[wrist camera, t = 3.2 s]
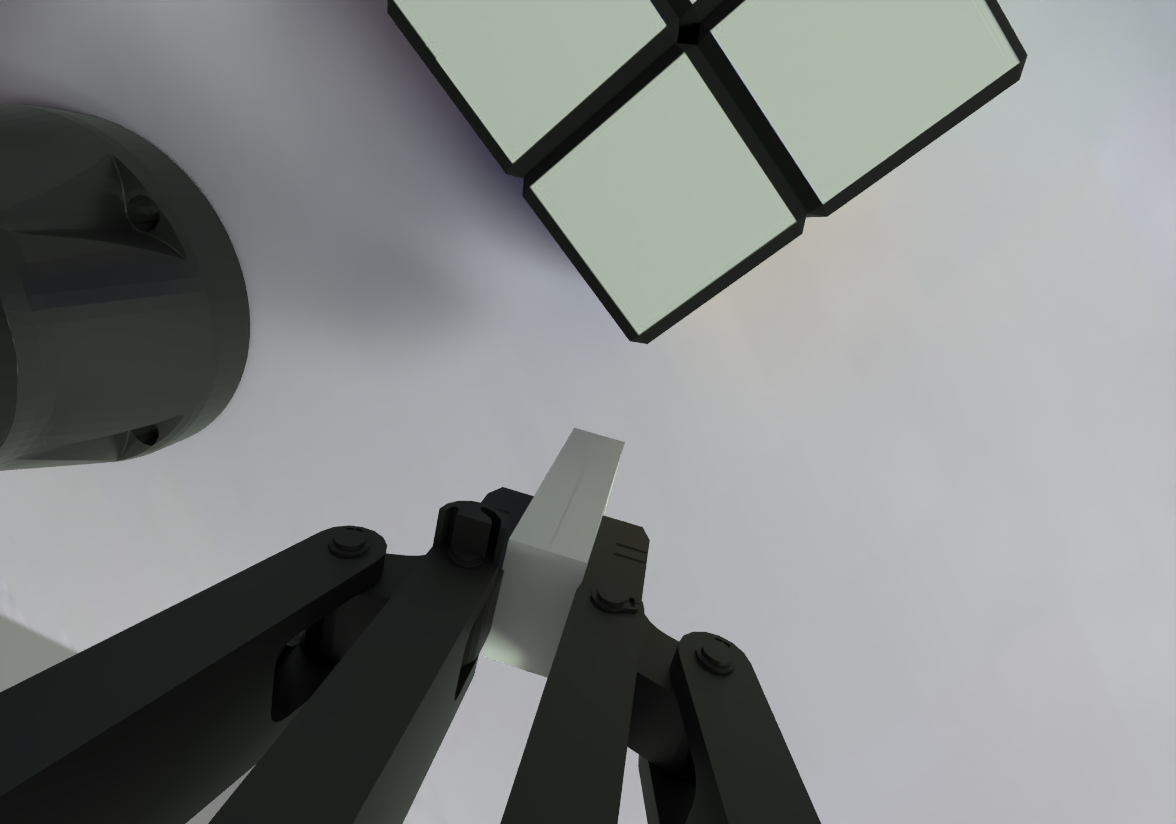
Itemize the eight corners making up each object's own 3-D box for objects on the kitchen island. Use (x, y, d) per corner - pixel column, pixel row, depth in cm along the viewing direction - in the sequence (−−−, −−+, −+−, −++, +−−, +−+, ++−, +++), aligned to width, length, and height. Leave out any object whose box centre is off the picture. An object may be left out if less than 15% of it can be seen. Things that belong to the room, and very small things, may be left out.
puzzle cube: (500, 90, 23) (370, -4, 13) (725, -125, 20) (761, -440, 10) (655, 304, 24) (637, 355, 15) (886, 134, 21) (1046, 63, 12)
